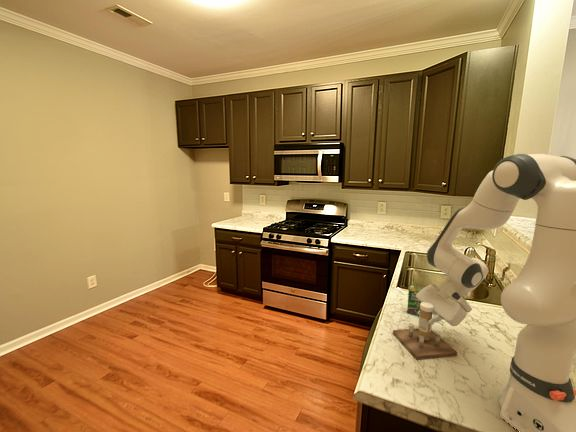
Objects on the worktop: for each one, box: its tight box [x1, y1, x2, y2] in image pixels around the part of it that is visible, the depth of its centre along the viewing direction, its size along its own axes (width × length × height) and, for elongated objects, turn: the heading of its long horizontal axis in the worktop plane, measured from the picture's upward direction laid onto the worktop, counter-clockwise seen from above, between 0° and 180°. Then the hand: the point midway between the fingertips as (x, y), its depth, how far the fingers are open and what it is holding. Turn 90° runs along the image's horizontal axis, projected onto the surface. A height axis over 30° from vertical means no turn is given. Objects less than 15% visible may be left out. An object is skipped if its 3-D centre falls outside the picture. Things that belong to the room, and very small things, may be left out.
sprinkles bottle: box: [417, 302, 434, 340], centre depth 106 cm, size 5×5×13 cm
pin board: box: [392, 325, 458, 361], centre depth 107 cm, size 16×16×6 cm
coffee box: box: [406, 285, 424, 317], centre depth 128 cm, size 8×3×13 cm, turn 57°
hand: (423, 319), depth 106 cm, fingers closed on sprinkles bottle, 4 cm apart
